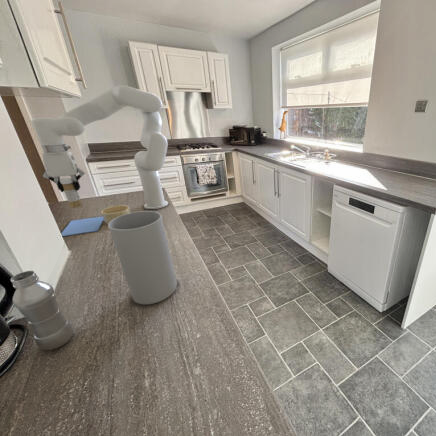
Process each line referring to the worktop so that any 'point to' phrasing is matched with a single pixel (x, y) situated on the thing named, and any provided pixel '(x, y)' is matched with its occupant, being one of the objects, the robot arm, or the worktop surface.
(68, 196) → the sprinkles bottle
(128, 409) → the worktop surface
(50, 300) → the plastic bottle
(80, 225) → the cloth
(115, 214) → the bowl
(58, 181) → the robot arm
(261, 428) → the worktop surface
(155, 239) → the cylinder vase
